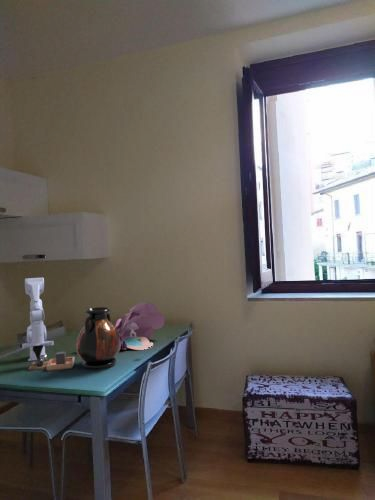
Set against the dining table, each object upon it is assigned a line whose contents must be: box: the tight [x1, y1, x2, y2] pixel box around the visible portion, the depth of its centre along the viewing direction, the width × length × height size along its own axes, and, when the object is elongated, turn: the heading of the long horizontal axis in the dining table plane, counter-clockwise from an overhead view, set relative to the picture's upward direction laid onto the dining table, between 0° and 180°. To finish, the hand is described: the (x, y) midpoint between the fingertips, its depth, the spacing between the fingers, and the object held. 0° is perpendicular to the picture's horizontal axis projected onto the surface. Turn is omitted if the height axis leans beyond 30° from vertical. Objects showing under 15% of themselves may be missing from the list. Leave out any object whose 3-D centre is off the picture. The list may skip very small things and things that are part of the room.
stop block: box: [55, 350, 66, 365], centre depth 174 cm, size 4×4×6 cm
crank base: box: [27, 359, 50, 372], centre depth 175 cm, size 12×8×1 cm, turn 12°
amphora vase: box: [76, 306, 121, 371], centre depth 173 cm, size 22×22×28 cm
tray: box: [45, 356, 75, 372], centre depth 174 cm, size 12×12×2 cm
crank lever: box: [36, 355, 48, 366], centre depth 176 cm, size 12×4×4 cm, turn 13°
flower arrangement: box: [115, 301, 165, 351], centre depth 206 cm, size 35×24×28 cm
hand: (38, 360), depth 175 cm, fingers closed, pressing on crank lever
